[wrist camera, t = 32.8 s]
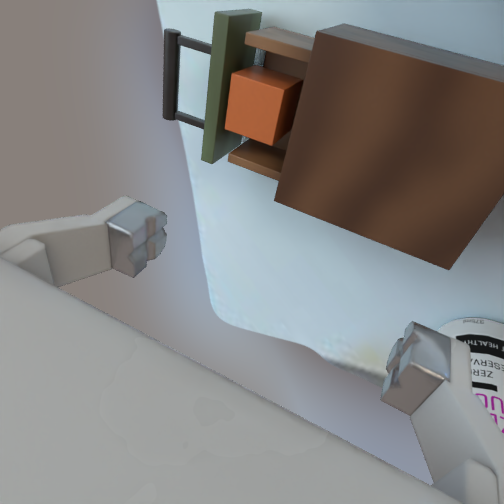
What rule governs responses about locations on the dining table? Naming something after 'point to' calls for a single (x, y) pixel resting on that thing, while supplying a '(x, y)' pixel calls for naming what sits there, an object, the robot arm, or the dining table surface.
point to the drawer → (221, 68)
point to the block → (262, 103)
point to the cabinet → (397, 142)
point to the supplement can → (483, 360)
